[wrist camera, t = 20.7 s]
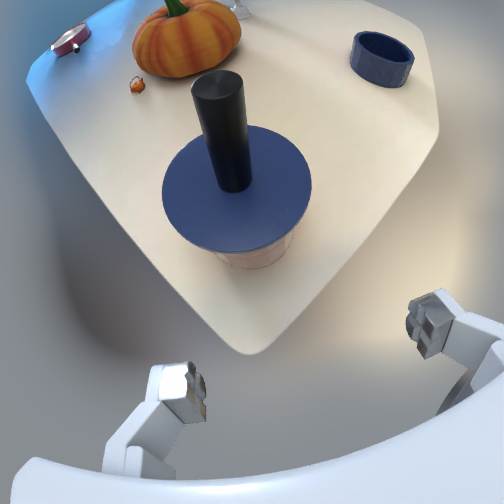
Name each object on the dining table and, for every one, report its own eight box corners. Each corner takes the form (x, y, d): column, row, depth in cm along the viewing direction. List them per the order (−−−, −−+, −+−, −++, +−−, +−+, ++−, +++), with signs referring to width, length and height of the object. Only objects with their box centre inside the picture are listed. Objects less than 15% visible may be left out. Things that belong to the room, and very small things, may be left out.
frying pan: (116, 43, 47) (107, 26, 41) (73, 75, 45) (62, 59, 39) (86, 29, 55) (78, 17, 48) (54, 53, 53) (46, 42, 47)
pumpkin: (258, 65, 38) (250, -10, 24) (147, 103, 38) (110, 36, 24) (227, 24, 43) (216, -32, 29) (141, 53, 43) (116, 2, 29)
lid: (332, 167, 22) (362, 68, 12) (261, 286, 19) (255, 226, 9) (219, 119, 24) (200, 27, 14) (140, 213, 21) (73, 133, 11)
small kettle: (129, 89, 40) (124, 80, 37) (144, 81, 40) (139, 71, 37) (133, 97, 39) (127, 87, 36) (148, 88, 39) (142, 78, 37)
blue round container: (409, 70, 36) (417, 49, 31) (399, 96, 34) (409, 73, 29) (359, 47, 38) (363, 25, 33) (342, 70, 37) (346, 45, 31)
